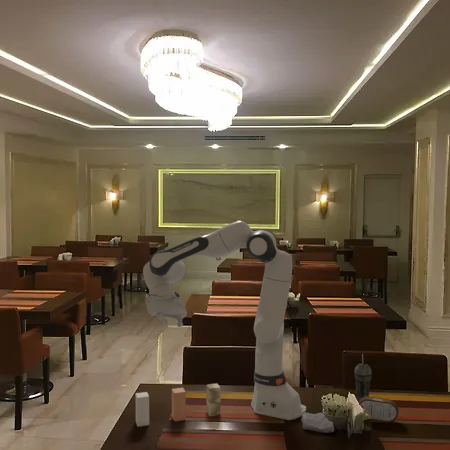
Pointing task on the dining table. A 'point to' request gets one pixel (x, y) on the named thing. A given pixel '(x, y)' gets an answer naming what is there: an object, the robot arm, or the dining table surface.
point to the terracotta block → (178, 404)
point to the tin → (380, 408)
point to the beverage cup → (362, 379)
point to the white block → (142, 409)
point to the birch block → (213, 399)
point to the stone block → (317, 422)
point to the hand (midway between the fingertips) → (172, 325)
